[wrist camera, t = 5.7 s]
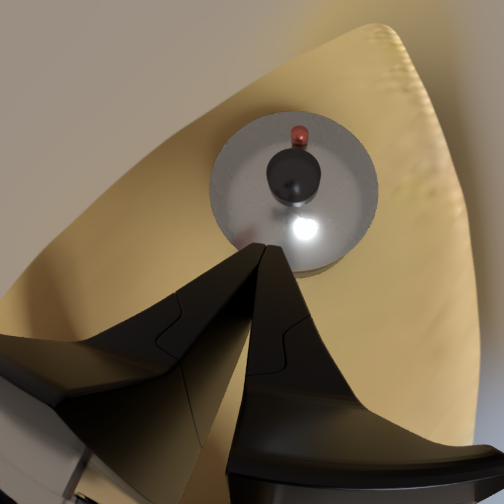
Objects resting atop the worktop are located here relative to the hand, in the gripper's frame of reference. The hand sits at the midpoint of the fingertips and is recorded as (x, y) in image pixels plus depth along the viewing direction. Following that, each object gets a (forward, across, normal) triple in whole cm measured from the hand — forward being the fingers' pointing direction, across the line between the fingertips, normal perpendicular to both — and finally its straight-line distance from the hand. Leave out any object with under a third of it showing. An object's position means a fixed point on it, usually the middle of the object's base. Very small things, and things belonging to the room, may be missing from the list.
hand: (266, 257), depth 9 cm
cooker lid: (+10, 0, +2) cm, 10 cm away
